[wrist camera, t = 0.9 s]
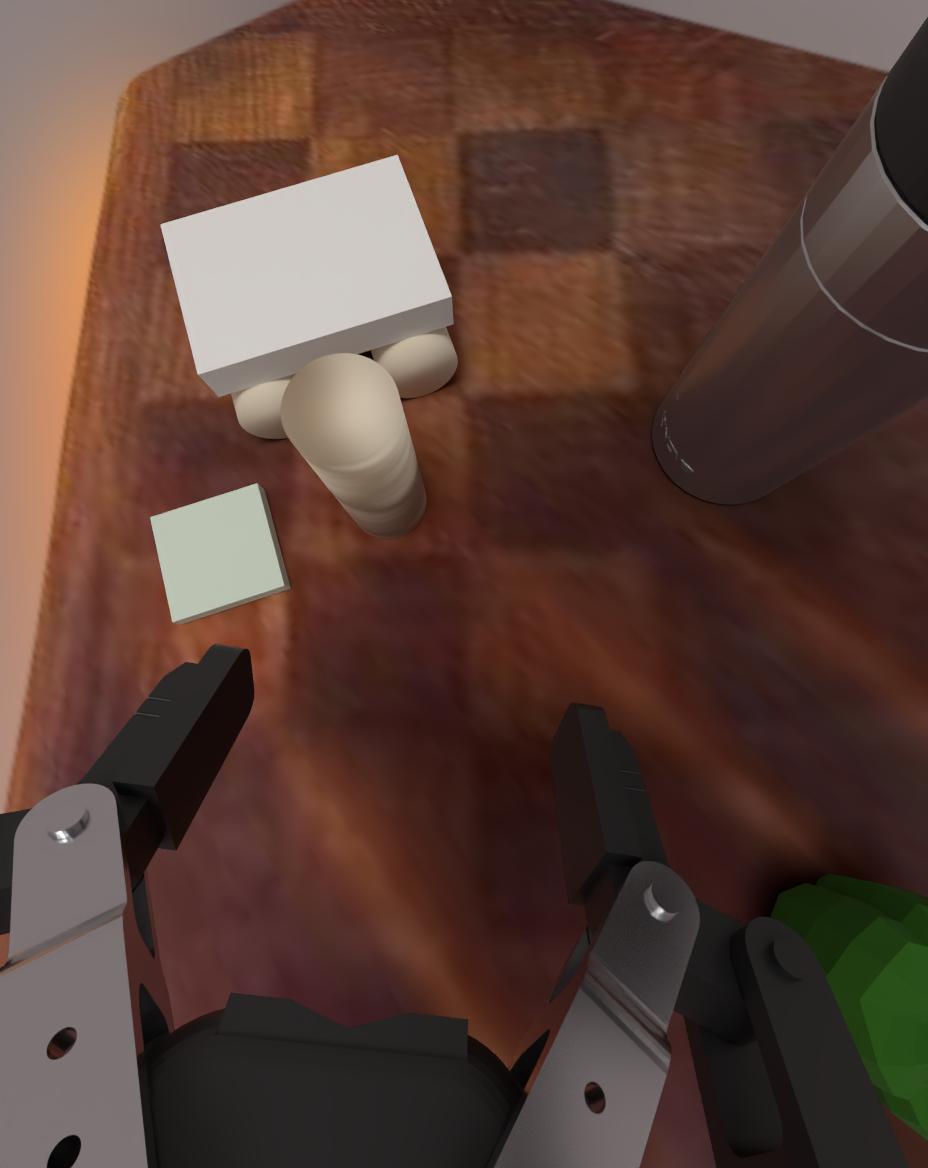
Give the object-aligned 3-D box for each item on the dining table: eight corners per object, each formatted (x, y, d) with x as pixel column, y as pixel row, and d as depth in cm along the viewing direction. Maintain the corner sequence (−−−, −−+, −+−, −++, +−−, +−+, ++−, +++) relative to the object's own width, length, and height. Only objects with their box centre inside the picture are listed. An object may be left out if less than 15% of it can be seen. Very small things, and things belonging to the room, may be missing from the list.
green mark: (264, 489, 30) (257, 483, 29) (290, 588, 29) (284, 585, 28) (160, 522, 30) (150, 517, 29) (182, 624, 29) (172, 622, 28)
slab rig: (411, 255, 34) (394, 148, 27) (459, 384, 31) (454, 304, 25) (224, 312, 33) (158, 217, 26) (260, 447, 31) (200, 382, 24)
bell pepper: (757, 826, 26) (929, 920, 16) (907, 875, 25) (1182, 1004, 15) (727, 990, 24) (897, 1203, 15) (886, 1046, 24) (1175, 1308, 14)
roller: (413, 456, 31) (380, 338, 20) (436, 524, 30) (415, 440, 19) (341, 479, 30) (267, 373, 20) (362, 549, 29) (297, 478, 19)
